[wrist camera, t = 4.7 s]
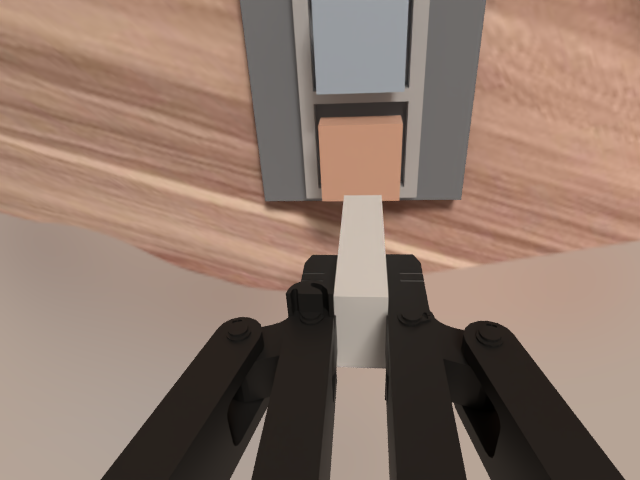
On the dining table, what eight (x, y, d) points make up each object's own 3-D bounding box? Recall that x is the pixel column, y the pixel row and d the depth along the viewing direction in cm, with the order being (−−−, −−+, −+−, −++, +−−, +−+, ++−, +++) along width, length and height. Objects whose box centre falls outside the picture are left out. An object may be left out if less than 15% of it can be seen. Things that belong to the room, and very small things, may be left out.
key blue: (319, 87, 24) (316, 94, 22) (314, -6, 21) (311, -5, 20) (402, 84, 23) (404, 91, 22) (406, -11, 21) (409, -10, 20)
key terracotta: (324, 189, 27) (322, 201, 25) (320, 117, 24) (318, 125, 23) (397, 189, 26) (399, 200, 25) (400, 115, 24) (402, 123, 23)
